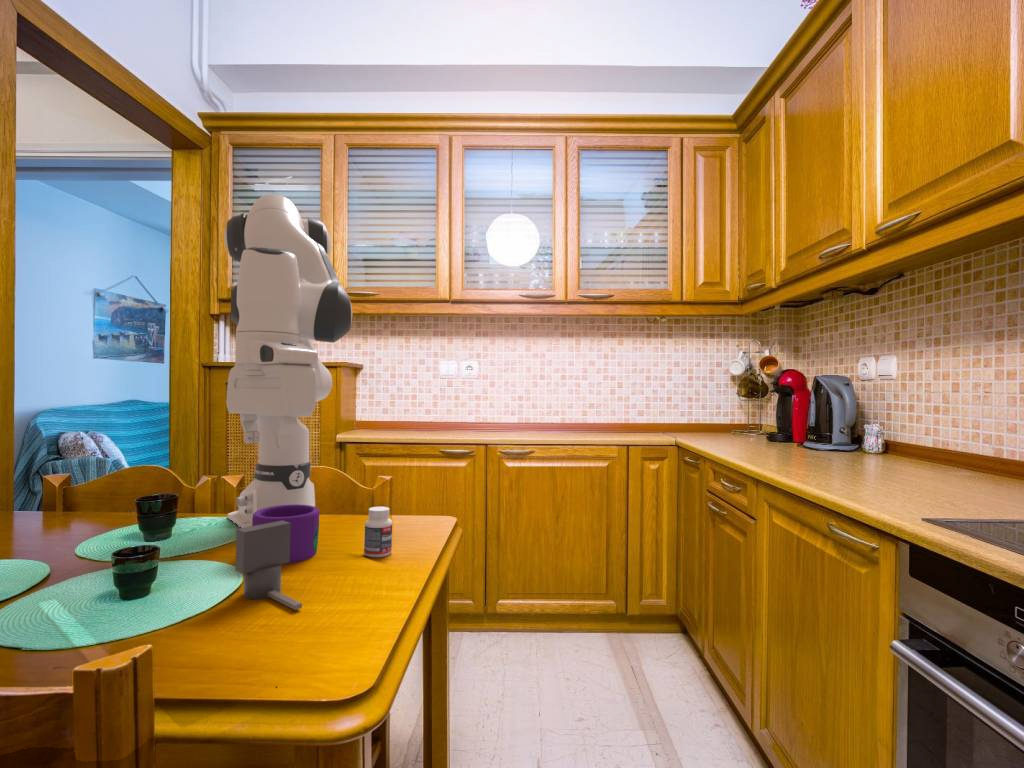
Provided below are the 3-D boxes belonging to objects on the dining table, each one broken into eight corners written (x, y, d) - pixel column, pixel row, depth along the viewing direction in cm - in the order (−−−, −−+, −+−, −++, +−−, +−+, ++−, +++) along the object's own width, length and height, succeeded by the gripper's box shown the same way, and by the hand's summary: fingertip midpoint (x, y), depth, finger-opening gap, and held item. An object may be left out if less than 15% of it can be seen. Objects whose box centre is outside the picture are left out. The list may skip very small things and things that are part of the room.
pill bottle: (384, 559, 99) (385, 512, 100) (359, 556, 101) (360, 510, 101) (395, 550, 105) (397, 506, 105) (371, 548, 106) (372, 504, 106)
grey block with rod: (230, 595, 77) (232, 527, 77) (276, 582, 83) (278, 519, 83) (273, 619, 69) (275, 544, 70) (321, 603, 75) (322, 533, 75)
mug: (316, 572, 92) (317, 516, 93) (245, 578, 89) (246, 519, 89) (321, 544, 109) (322, 496, 109) (261, 548, 106) (263, 499, 106)
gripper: (216, 355, 83) (214, 442, 83) (283, 349, 70) (281, 452, 70) (255, 357, 88) (254, 439, 88) (325, 352, 75) (323, 448, 75)
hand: (267, 445), depth 79 cm, fingers open, 8 cm apart
